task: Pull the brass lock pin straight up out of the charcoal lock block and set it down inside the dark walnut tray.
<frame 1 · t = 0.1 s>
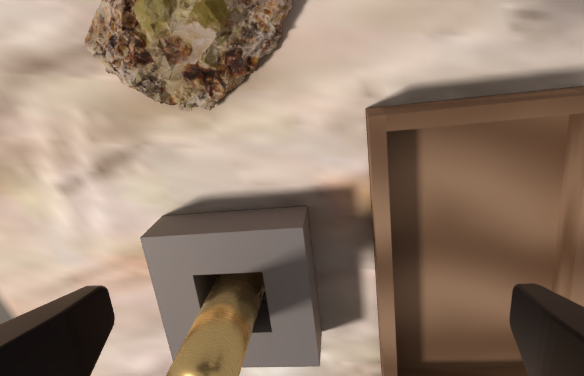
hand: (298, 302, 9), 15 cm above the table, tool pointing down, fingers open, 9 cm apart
brass pin: (244, 275, 26), resting in lock block
mineral rock: (202, 26, 22), on the table
lock block: (244, 275, 26), on the table
walnut tray: (466, 250, 24), on the table
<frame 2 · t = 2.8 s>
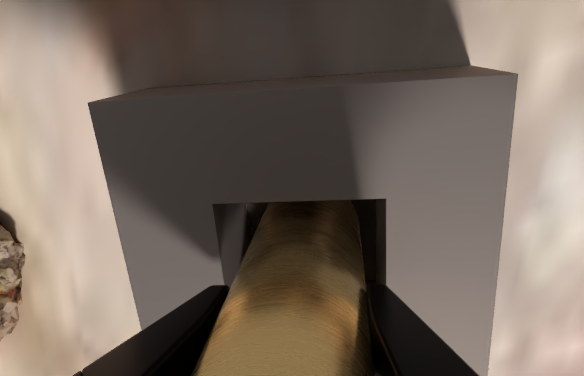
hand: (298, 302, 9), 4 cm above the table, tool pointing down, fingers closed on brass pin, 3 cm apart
brass pin: (310, 225, 13), resting in lock block, touching gripper
lock block: (310, 225, 13), on the table
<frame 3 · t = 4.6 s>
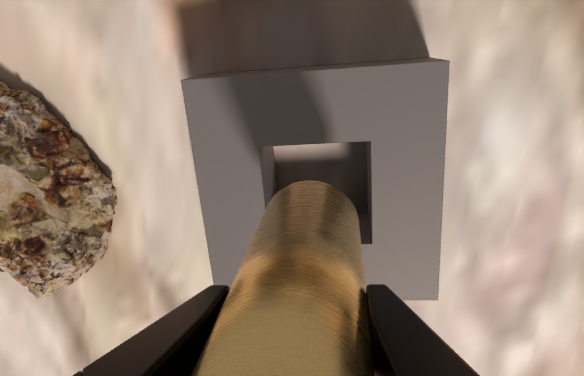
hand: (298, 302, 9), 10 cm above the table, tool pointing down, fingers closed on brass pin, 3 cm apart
brass pin: (310, 225, 13), point 6 cm above the table, touching gripper
mineral rock: (40, 176, 20), on the table
lock block: (320, 172, 18), on the table
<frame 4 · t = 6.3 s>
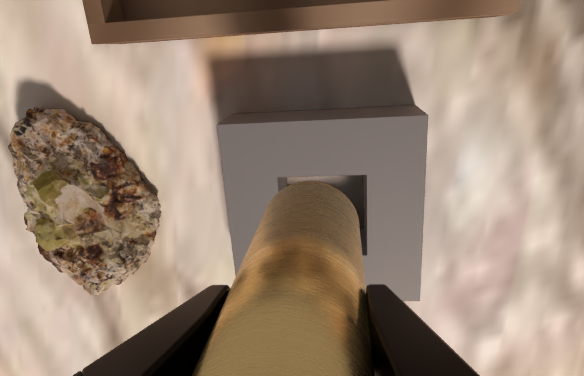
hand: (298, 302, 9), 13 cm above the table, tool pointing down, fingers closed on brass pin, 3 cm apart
brass pin: (310, 226, 13), point 9 cm above the table, touching gripper
mineral rock: (95, 192, 24), on the table
lock block: (325, 194, 22), on the table
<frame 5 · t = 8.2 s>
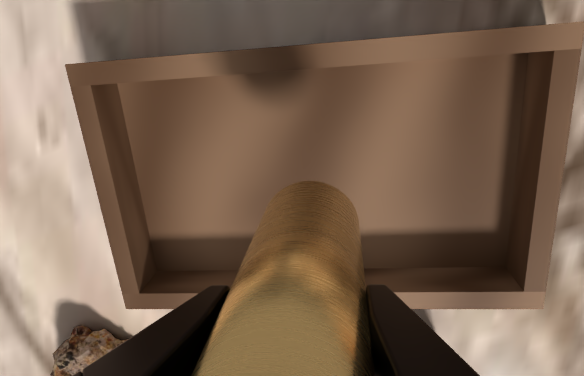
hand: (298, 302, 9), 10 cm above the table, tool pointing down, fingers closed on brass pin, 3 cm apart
brass pin: (310, 226, 13), point 5 cm above the table, touching gripper
walnut tray: (316, 172, 18), on the table
when the fingers open (6 cm above the table, at t = 9.9 s): brass pin drops 1 cm, resting on walnut tray.
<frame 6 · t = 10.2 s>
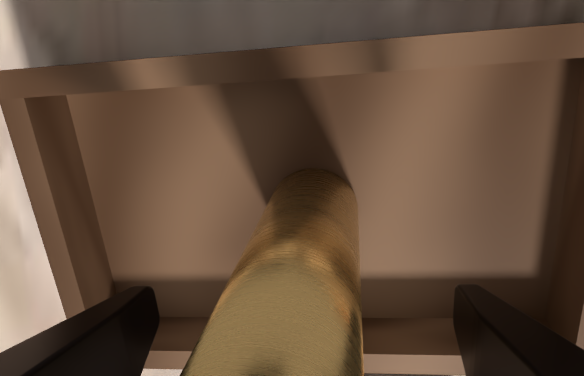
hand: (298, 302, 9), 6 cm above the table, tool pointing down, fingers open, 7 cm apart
brass pin: (313, 209, 14), point 1 cm above the table, touching walnut tray
walnut tray: (313, 201, 15), on the table
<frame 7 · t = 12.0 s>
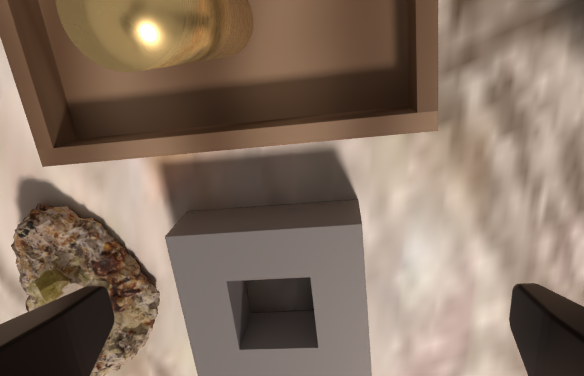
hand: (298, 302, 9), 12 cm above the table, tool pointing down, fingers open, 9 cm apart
brass pin: (219, 21, 18), point 1 cm above the table, touching walnut tray
mineral rock: (95, 278, 24), on the table
lock block: (280, 281, 23), on the table
walnut tray: (221, 21, 18), on the table
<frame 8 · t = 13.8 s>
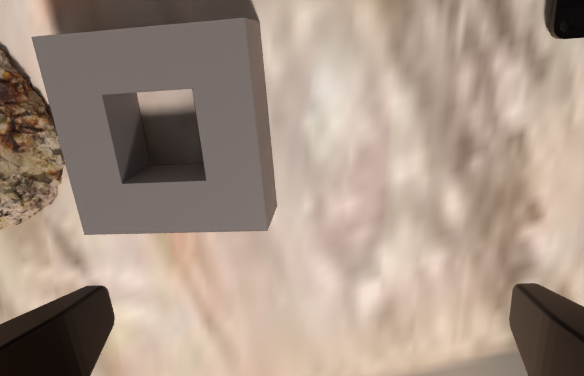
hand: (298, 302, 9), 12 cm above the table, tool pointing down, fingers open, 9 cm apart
mineral rock: (1, 124, 22), on the table
lock block: (180, 125, 20), on the table
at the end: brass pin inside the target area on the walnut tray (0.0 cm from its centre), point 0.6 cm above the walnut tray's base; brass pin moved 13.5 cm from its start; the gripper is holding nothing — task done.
